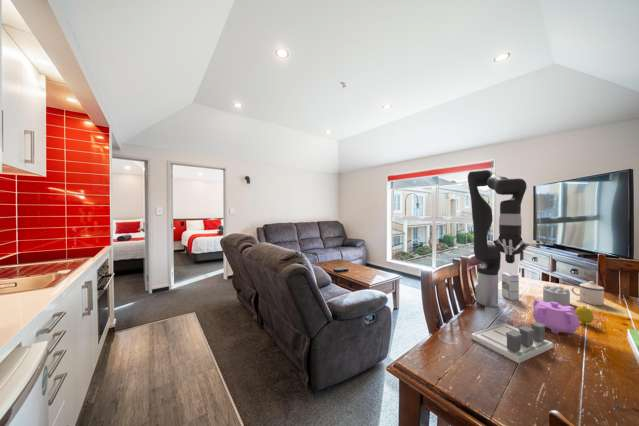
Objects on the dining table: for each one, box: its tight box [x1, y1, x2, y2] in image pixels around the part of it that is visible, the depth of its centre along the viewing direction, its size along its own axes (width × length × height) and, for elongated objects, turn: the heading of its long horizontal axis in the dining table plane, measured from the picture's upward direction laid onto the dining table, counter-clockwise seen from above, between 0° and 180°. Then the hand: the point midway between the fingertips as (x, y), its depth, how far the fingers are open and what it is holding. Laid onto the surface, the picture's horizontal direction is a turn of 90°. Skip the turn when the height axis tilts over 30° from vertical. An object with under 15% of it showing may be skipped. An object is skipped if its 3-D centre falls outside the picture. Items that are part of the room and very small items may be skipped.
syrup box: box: [501, 272, 520, 301], centre depth 132 cm, size 6×6×14 cm
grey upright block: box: [506, 330, 522, 353], centre depth 80 cm, size 3×4×6 cm
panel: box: [470, 322, 554, 364], centre depth 88 cm, size 16×22×2 cm
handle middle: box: [518, 325, 534, 347], centre depth 83 cm, size 3×4×6 cm
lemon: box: [575, 305, 594, 325], centre depth 102 cm, size 6×6×8 cm
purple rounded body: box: [532, 299, 581, 335], centre depth 98 cm, size 18×17×12 cm
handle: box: [530, 321, 547, 342], centre depth 86 cm, size 3×4×6 cm
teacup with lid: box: [571, 280, 606, 306], centre depth 127 cm, size 12×9×12 cm
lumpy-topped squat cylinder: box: [542, 284, 571, 306], centre depth 126 cm, size 10×13×9 cm
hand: (509, 262), depth 99 cm, fingers closed
